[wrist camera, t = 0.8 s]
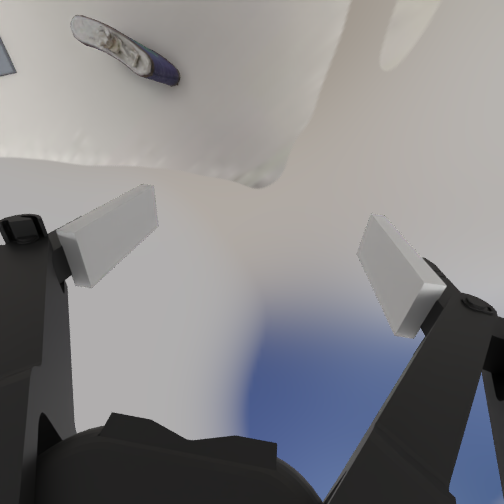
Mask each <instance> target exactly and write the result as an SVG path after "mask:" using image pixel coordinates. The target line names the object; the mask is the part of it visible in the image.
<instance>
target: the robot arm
mask: <svg viewBox="0 0 504 504" xmlns="http://www.w3.org/2000/svg"><path fill="white" fill-rule="evenodd" d="M157 227H158V218H157V209H156V201H155V192H154V186H151V185H144V184H141V185H139V186H137V187H136V188H134V189H132V190H130V191H128V192H126V193H125V194H123V195H121V196H119V197H117V198H115V199H113V200H111V201H109V202H108V203H106V204H104V205H102V206H100V207H98V208H96V209H94V210H93V211H91V212H89V213H87V214H85V215H83V216H81V217H79V218H77V219H75V220H73V221H71V222H69V223H67V224H66V225H64V226H62V227H60V228H58V229H56V230H54V231H52V232H50V233H49V234H47V231H46V229H45V226H44V224H43V221H42V218H41V217H40V216H39V215H35V214H22V215H15V216H11V217H7V218H4V219H2V220H0V232H1V235H2V236H3V239H4V241H5V243H6V244H5V245H0V504H456V499H455V497H454V496H453V495H452V494H451V493H450V492H449V484H450V480H451V477H452V473H453V470H454V466H455V463H456V459H457V456H458V452H459V449H460V445H461V441H462V438H463V435H464V431H465V428H466V424H467V420H468V417H469V413H470V410H471V406H472V403H473V400H474V396H475V393H476V389H477V386H478V382H479V379H480V375H481V372H482V376H483V382H484V388H485V393H486V399H487V405H488V411H489V416H490V422H491V428H492V434H493V440H494V445H495V451H496V457H497V463H498V468H499V474H500V480H501V486H502V491H503V497H504V318H501V317H498V316H497V312H496V311H495V309H494V308H493V307H492V306H491V305H489V304H488V303H486V302H485V301H483V300H481V299H479V298H477V297H475V296H472V295H469V294H465V293H461V292H460V291H459V290H458V289H457V288H456V287H455V286H454V285H453V284H452V283H451V281H450V280H449V279H448V278H446V276H445V275H444V274H443V273H442V272H441V271H440V270H439V269H438V267H437V266H436V265H435V264H433V263H432V262H430V261H429V260H427V259H426V258H422V257H421V256H420V255H419V254H418V253H417V251H416V250H415V249H414V248H413V247H412V246H411V245H410V244H409V243H408V241H407V240H406V239H405V238H404V237H403V236H402V234H401V233H400V232H399V231H398V230H397V229H396V228H395V227H394V225H393V224H392V223H391V222H390V221H389V220H388V219H387V217H386V216H385V215H379V214H371V215H370V218H369V220H368V223H367V226H366V229H365V232H364V235H363V237H362V240H361V243H360V246H359V249H358V251H357V256H358V258H359V260H360V262H361V264H362V266H363V268H364V271H365V273H366V275H367V277H368V279H369V281H370V284H371V286H372V288H373V290H374V292H375V294H376V296H377V298H378V301H379V303H380V305H381V307H382V309H383V312H384V314H385V316H386V318H387V320H388V322H389V324H390V327H391V329H392V331H393V333H394V335H395V336H400V337H406V338H413V339H414V337H415V336H416V334H417V332H418V331H419V330H420V328H421V329H422V331H423V333H424V334H425V338H424V339H423V341H422V342H421V344H420V345H419V347H418V348H417V350H416V351H415V353H414V354H413V357H412V358H411V360H410V362H409V363H408V365H407V367H406V368H405V370H404V371H403V373H402V375H401V376H400V378H399V380H398V381H397V383H396V384H395V386H394V388H393V389H392V391H391V393H390V394H389V396H388V398H387V399H386V401H385V403H384V404H383V406H382V407H381V409H380V411H379V412H378V414H377V416H376V417H375V419H374V420H373V422H372V424H371V426H370V427H369V429H368V430H367V432H366V433H365V435H364V437H363V438H362V440H361V442H360V443H359V445H358V447H357V448H356V450H355V452H354V453H353V455H352V456H351V458H350V460H349V461H348V463H347V464H346V466H345V468H344V469H343V471H342V473H341V474H340V476H339V477H338V479H337V481H336V482H335V484H334V485H333V487H332V488H331V490H330V492H329V493H328V495H327V496H326V498H325V499H324V501H323V502H322V501H321V499H320V497H319V496H318V495H317V493H316V492H315V491H314V489H313V488H312V486H311V485H310V484H309V483H308V482H307V481H306V480H305V478H304V477H303V476H302V475H301V474H300V473H298V472H297V471H296V470H295V469H294V468H293V467H291V466H290V465H289V464H287V463H286V462H284V461H283V460H281V459H279V458H277V443H272V442H267V441H262V440H256V439H251V438H246V437H240V436H227V437H219V438H210V439H201V440H187V439H185V438H183V437H181V436H179V435H178V434H176V433H174V432H172V431H170V430H168V429H167V428H165V427H163V426H161V425H160V424H158V423H156V422H154V421H152V420H150V419H145V418H139V417H134V416H128V415H123V414H118V413H111V415H110V417H109V419H108V420H107V422H106V424H105V426H100V427H96V428H92V429H88V430H86V431H83V432H80V433H76V430H75V423H74V406H73V388H72V370H71V369H72V368H71V349H70V329H69V312H68V311H69V310H68V291H67V285H66V282H65V279H67V278H68V277H69V276H71V275H72V277H73V280H74V283H75V285H76V286H80V287H87V288H93V287H94V286H95V285H96V284H97V283H98V282H99V281H100V280H101V279H102V278H103V277H104V276H105V275H106V274H108V273H109V272H110V271H111V270H112V269H113V268H114V267H115V266H116V265H117V264H118V263H119V262H120V261H121V260H123V259H124V258H125V257H126V256H127V255H128V254H129V253H130V252H131V251H132V250H133V249H135V248H136V247H137V246H138V245H139V244H140V243H141V242H142V241H143V240H144V239H145V238H146V237H148V236H149V235H150V234H151V233H152V232H153V231H154V230H155V229H156V228H157Z"/></svg>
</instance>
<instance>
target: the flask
mask: <svg viewBox="0 0 504 504" xmlns="http://www.w3.org/2000/svg"><path fill="white" fill-rule="evenodd" d="M71 29H72V32H73V35H74V37H75V38H76V39H77V40H79V41H80V42H81V43H83V44H85V45H87V46H91V47H94V48H96V49H98V50H101V51H103V52H106V53H107V54H109V55H111V56H113V57H114V58H116V59H118V60H119V61H121V62H122V63H124V64H125V65H126V66H128V67H129V68H130V69H131V70H132V71H133V72H135V73H136V74H137V75H139V76H142V77H144V78H148V79H151V80H155V81H157V82H161V83H164V84H167V85H170V86H175V85H178V82H179V80H180V73H179V71H178V70H177V69H176V68H175V66H174V65H173V64H171V63H170V62H168V61H167V60H166V59H165V58H163V57H162V56H161V55H160V54H158V53H156V52H155V51H153V50H150V49H148V48H146V47H145V46H143V45H142V44H140V43H138V42H136V41H134V40H133V39H131V38H129V37H127V36H126V35H124V34H122V33H121V32H119V31H117V30H116V29H114V28H112V27H110V26H108V25H106V24H104V23H101V22H99V21H97V20H94V19H91V18H88V17H85V16H83V15H81V16H80V15H76V16H74V17H73V19H72V21H71Z"/></svg>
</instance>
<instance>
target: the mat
mask: <svg viewBox="0 0 504 504" xmlns="http://www.w3.org/2000/svg"><path fill="white" fill-rule="evenodd" d="M12 73H17V72H16V70H15V68H14V66H13V64H12V62H11V60H10V57H9V55H8V53H7V51H6V49H5V47H4V44H3V42H2V40H1V38H0V76H3V75H7V74H12Z"/></svg>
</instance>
